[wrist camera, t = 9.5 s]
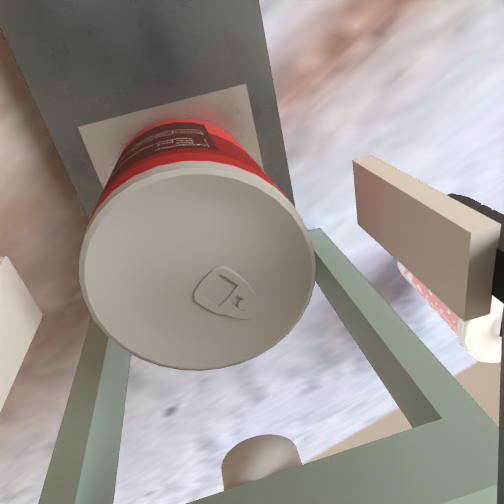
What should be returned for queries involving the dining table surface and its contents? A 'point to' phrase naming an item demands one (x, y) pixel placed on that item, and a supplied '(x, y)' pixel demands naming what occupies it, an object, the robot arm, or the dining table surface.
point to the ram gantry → (284, 450)
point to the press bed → (144, 77)
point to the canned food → (194, 251)
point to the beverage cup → (467, 323)
